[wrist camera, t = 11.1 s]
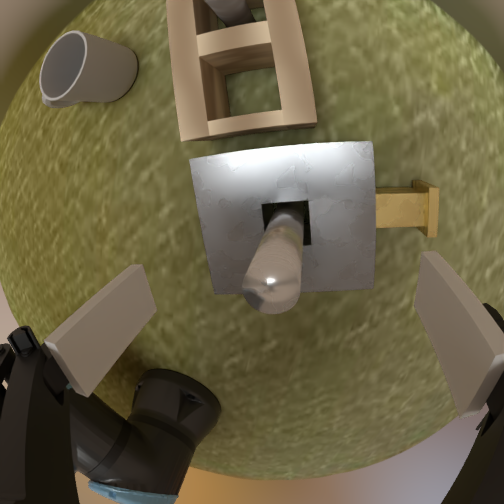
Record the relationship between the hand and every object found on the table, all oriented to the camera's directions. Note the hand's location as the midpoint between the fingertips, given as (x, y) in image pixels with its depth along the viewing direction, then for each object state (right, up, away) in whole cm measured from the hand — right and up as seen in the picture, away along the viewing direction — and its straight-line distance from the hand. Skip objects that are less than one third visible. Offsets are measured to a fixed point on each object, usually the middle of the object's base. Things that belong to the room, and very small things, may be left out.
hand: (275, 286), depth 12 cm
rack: (-1, +20, +10) cm, 22 cm away
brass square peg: (+11, +6, +13) cm, 18 cm away
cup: (-18, +22, +13) cm, 31 cm away
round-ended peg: (+3, +6, +15) cm, 16 cm away
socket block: (+3, +6, +15) cm, 16 cm away
